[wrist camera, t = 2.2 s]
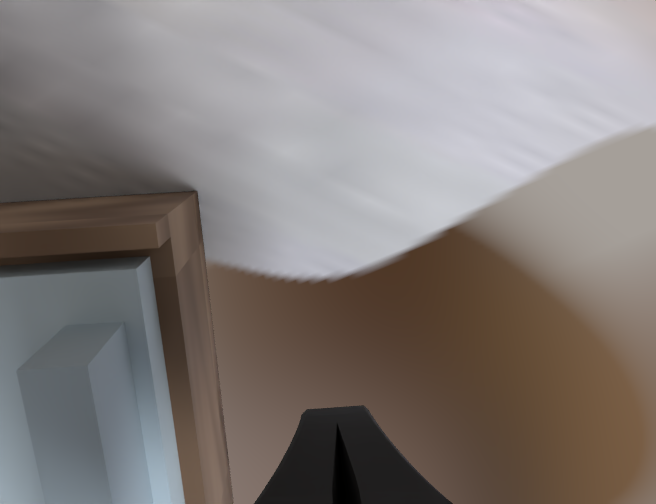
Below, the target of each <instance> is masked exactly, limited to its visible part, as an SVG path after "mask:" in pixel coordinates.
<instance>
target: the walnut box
mask: <svg viewBox="0 0 656 504" xmlns="http://www.w3.org/2000/svg"><path fill="white" fill-rule="evenodd" d="M143 256H150V261H151V268H152V275H153V282H154V289H155V296H156V303H157V310H158V317H159V324H160V331H161V338H162V345H163V352H164V359H165V366H166V373H167V380H168V387H169V394H170V401H171V408H172V415H173V422H174V429H175V436H176V443H177V450H178V457H179V464H180V471H181V478H182V485H183V492H184V499H185V504H233V494H232V486H231V477H230V468H229V459H228V451H227V442H226V434H225V426H224V416H223V408H222V399H221V391H220V382H219V373H218V365H217V356H216V348H215V340H214V330H213V322H212V313H211V305H210V296H209V288H208V279H207V271H206V262H205V253H204V245H203V236H202V227H201V219H200V210H199V202H198V193H197V191H188V192H172V193H155V194H139V195H123V196H106V197H90V198H74V199H57V200H41V201H24V202H8V203H0V266H3V265H18V264H34V263H50V262H65V261H81V260H96V259H112V258H127V257H143Z"/></svg>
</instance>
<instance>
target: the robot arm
mask: <svg viewBox="0 0 656 504" xmlns="http://www.w3.org/2000/svg"><path fill="white" fill-rule="evenodd" d="M254 504H452V503H451V502H450V501H449V500H448V499H446V498H445V497H444V496H443V495H442V494H441V493H440V492H438V491H437V490H436V489H435V488H434V487H433V486H432V485H431V484H430V483H429V482H428V481H427V480H426V479H425V478H424V477H423V476H422V475H421V474H420V473H419V472H418V471H417V470H416V469H415V468H414V467H413V466H412V465H411V464H410V463H409V462H408V461H407V460H406V458H405V457H404V456H403V455H402V454H401V453H400V452H399V450H398V449H397V448H396V447H395V446H394V445H393V443H392V442H391V441H390V440H389V439H388V437H387V436H386V435H385V433H384V432H383V431H382V429H381V428H380V427H379V425H378V424H377V422H376V421H375V419H374V418H373V416H372V415H371V413H370V412H369V410H368V409H367V408H366V407H365V406H349V407H335V408H323V409H307V410H306V411H305V412H304V413H303V414H302V415H301V420H300V423H299V426H298V428H297V431H296V433H295V435H294V437H293V440H292V442H291V444H290V446H289V448H288V450H287V452H286V453H285V455H284V457H283V459H282V461H281V463H280V464H279V466H278V468H277V470H276V471H275V473H274V475H273V476H272V477H271V479H270V481H269V482H268V484H267V485H266V487H265V489H264V490H263V491H262V493H261V494H260V496H259V497H258V499H257V500H256V501H255V503H254Z"/></svg>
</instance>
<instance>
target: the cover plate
mask: <svg viewBox="0 0 656 504" xmlns="http://www.w3.org/2000/svg"><path fill="white" fill-rule="evenodd" d="M0 504H185V499H184V492H183V485H182V478H181V471H180V464H179V457H178V450H177V443H176V436H175V429H174V422H173V415H172V408H171V401H170V394H169V387H168V380H167V373H166V366H165V359H164V352H163V345H162V338H161V331H160V324H159V317H158V310H157V303H156V296H155V289H154V282H153V275H152V268H151V261H150V256H143V257H127V258H112V259H96V260H81V261H65V262H50V263H34V264H18V265H3V266H0Z"/></svg>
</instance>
